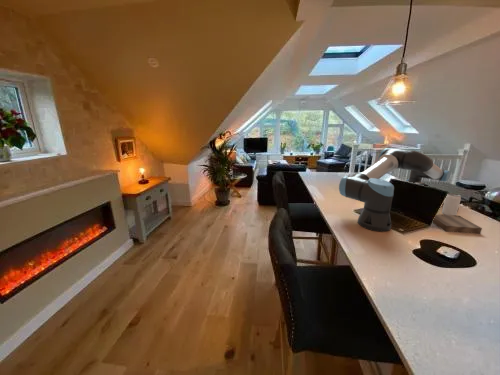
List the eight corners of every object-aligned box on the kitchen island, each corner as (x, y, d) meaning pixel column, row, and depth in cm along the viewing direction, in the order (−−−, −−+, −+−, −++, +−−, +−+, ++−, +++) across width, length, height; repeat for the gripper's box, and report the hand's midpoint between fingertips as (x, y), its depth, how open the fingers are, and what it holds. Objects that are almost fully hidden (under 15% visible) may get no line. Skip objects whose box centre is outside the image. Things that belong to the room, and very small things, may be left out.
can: (458, 217, 127) (464, 196, 124) (445, 216, 128) (451, 196, 125) (451, 212, 133) (456, 193, 130) (438, 211, 134) (444, 192, 131)
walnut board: (445, 231, 110) (446, 225, 110) (427, 218, 125) (428, 213, 124) (480, 233, 108) (482, 228, 107) (457, 220, 122) (459, 215, 122)
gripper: (439, 194, 157) (462, 205, 137) (401, 192, 161) (417, 202, 141) (442, 184, 155) (465, 193, 135) (403, 182, 159) (419, 191, 139)
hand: (441, 198), depth 138 cm, fingers open, 13 cm apart
